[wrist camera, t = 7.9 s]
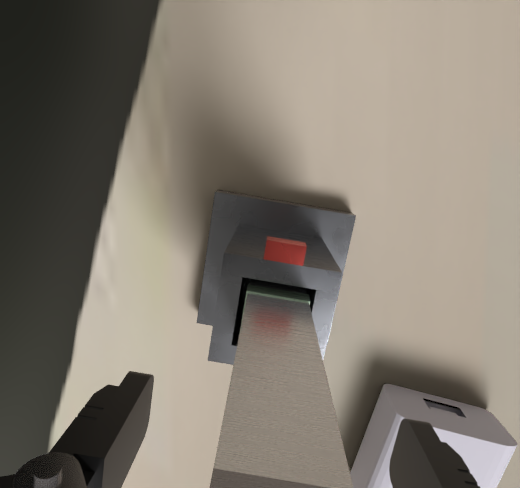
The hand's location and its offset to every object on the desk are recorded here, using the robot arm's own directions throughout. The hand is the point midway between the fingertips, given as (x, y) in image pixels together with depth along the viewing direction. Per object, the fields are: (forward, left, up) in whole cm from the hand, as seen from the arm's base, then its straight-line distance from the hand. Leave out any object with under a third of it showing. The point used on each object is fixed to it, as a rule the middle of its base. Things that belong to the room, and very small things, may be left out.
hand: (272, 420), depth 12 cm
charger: (+16, +14, -19) cm, 28 cm away
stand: (0, 0, -18) cm, 18 cm away
